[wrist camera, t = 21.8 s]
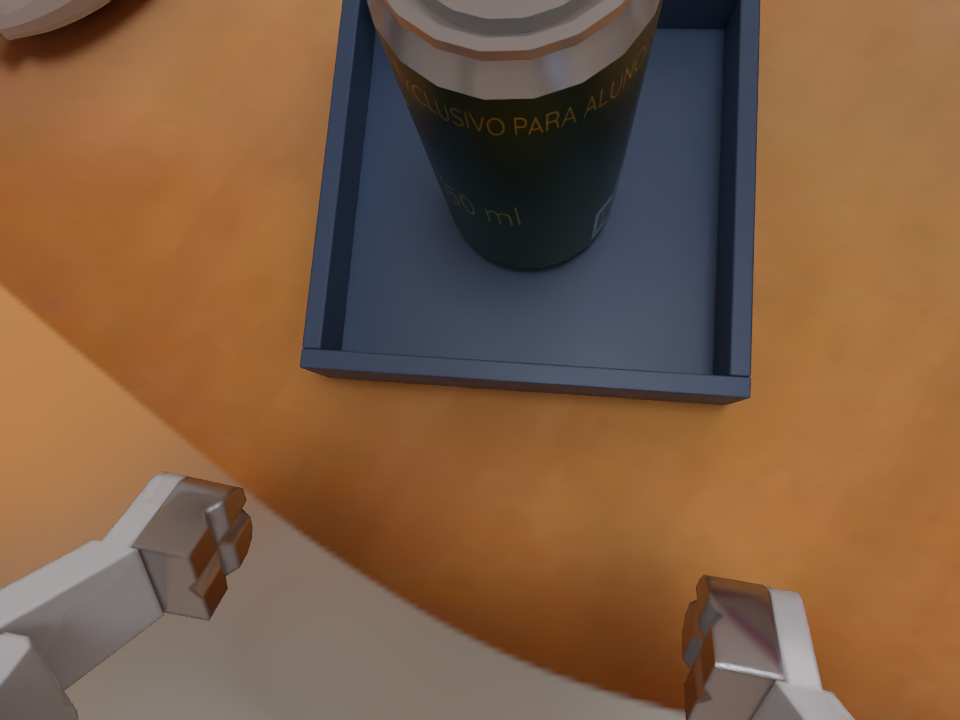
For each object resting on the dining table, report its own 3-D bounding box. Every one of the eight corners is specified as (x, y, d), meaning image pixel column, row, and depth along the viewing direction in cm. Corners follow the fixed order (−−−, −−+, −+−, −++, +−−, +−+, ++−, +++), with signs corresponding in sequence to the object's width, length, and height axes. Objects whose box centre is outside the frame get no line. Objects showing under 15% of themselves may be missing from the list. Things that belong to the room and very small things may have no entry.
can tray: (726, 405, 21) (750, 398, 19) (327, 377, 23) (299, 367, 20) (738, 24, 23) (761, -30, 21) (366, 21, 25) (345, -30, 22)
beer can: (625, 132, 22) (707, -228, 11) (598, 287, 22) (654, 87, 10) (468, 111, 23) (381, -248, 11) (437, 261, 23) (312, 45, 11)
